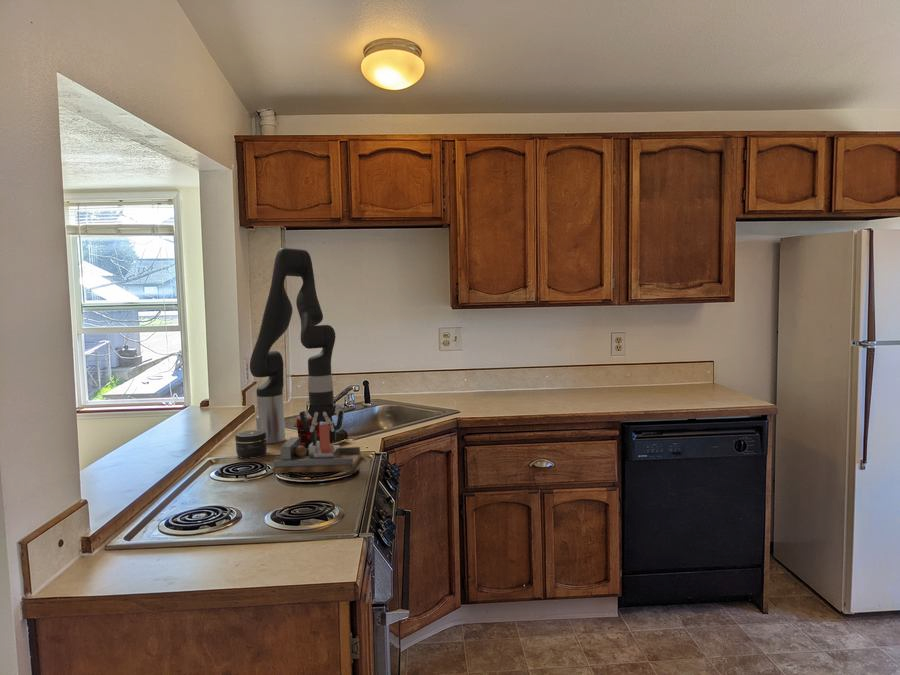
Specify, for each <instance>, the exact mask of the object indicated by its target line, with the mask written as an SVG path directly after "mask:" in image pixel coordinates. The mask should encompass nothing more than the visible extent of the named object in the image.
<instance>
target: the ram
mask: <svg viewBox="0 0 900 675" xmlns="http://www.w3.org/2000/svg"><path fill="white" fill-rule="evenodd" d="M319 431H320V441H317V443H316V444H313V442H312V443H311V444H310V445H309V459H322V458H338V457H339V455H340V447H341V445H340V444H334V443H331V437H330V432H331V430H330V425H328V424H327V422H321V423H320V426H319Z"/></svg>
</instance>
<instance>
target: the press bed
mask: <svg viewBox="0 0 900 675" xmlns="http://www.w3.org/2000/svg"><path fill="white" fill-rule="evenodd" d="M338 458H353V465H342V466H308V467H274V466H273V468H272V474H289V473H288V472H302V473H328V472H330V473H332V472H334V473H335V472H353V471H354V469H355V467H356V465H357V464H358V462H359V461H360V459H361V458H362V452H361V451H360V454H340V455H339V457H338ZM298 459H309V455H305V456H304V457H299V458H298Z"/></svg>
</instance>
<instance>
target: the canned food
mask: <svg viewBox="0 0 900 675" xmlns="http://www.w3.org/2000/svg"><path fill="white" fill-rule="evenodd" d="M295 419H296V430H297V437H301V446H305V443H306V441H307V440H308V439H309V438H311V435H310V432H309V431H307V430H306V431H305V430H304V428H303V424H302V421H301V418H300V414H299V415H297V416H296V417H295ZM307 420H308V423H309V426H311V423H312V420H313V418H312V417H311V416H310V414H309V413H308V417H307ZM320 425H321V422H318V423H317V425H316V429H315V431H316V436H317V437H320V431H319V426H320Z"/></svg>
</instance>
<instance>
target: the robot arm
mask: <svg viewBox="0 0 900 675" xmlns="http://www.w3.org/2000/svg"><path fill="white" fill-rule="evenodd" d="M313 268H314V267H313V262H312V258H311V255H310V253H309V252H308V251H307V250H305V249H300V248H291V247H281V248H279V249H278V250H277V252H276V254H275V258H274V264H273V270H272V276H271V283H270V288H269V292H268V297H267V300H266V304H265V306H264V311H263V314H262V315H263V316H262V320H261V326H260V329H259V332H258V337H257V340H256V343H255V345H254V348H253V351H252V353H251V355H250V356H251V357H250V361H249V370H250V374H251V376H253V377H254V378H267V377H268V379H267V380H266V381H265V382H264V383H263V384H261V385H260V386H258V387H257V388H256V392H255V393H256V407H257V408H256V409H257V416H256V417H255V422H256V423H255V425H256V430H263V431H265V432H266V437H267V439H266V443H267V445H268V444H278V443H281V442H285V441H286V430H285V429H286V428H285V426H286V425H285V408H284V394H283V392H284V391H283V389H284V360H283V359H284V358H283V356H282V354H281V352H280V351H277V350H271V349H272V347H273V345H274V344H275V343H276V342H277V341H278V340H279V339H280V338H281V337H282V336H283V335H284V333H286V331H287V330H288V328H289V326H290V323H291V318H292V316H293V315H292V314H293V305H292V303H291V300H290V298H289V296H288V294H287V291H286V287H285V280H286V277H287V276H288V277H297V278H301V280H302V285H301V287H300V289H299V291H298V293H297V296H296V301H295V303H296V309H297V312H298V315H299V318H300V343H301V344H302V346H303V347H304V348H305V349H321V351H320V352H319V354H316V355H313V356H310V357H309V358H308V360H307V369H308V370H307V372H308V378H307V379H308V380H307V390H308V405H309V406H308V409H306V410H302V411H300V412H299V415H300V418H301V421H302V424H303V428H304V430H305V431H306V430H307V431H309V432H310V435H311V442H313V444H316V443H317V438H316V431H315V429H316V425H317V423H318V422H320V423H325V422H327V424H328V425H330V430H331V432H330V437H331V443H333V444H335V443H334V441H336V432H337V431H338V430H340V429H341V428H342V426H343V421H344V417H345V416H344V415H345V409H343V408H341V409H338V408H336V407H335V402H334V401H335V400H334V382H333V376H332V374H333V373H332V356H333V351H334V350H333V349H334V346H335V343H336V342H335V341H336V332H335V329H334V327H333V326H332V325H329V324H321V323H322V322H323V319H324V314H323V311H322V308H321V305H320V302H319V299H318V296H317V294H318V293H317V288H316V282H315V275H314V274H315V273H314V269H313ZM308 414H310V416H311V417H312V418H313V420H312V423H311V426H309V423H308V420H307V417H308ZM334 414H335V415H336V417H337V421H336V425H335V422H334V419H333V416H334Z"/></svg>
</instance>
